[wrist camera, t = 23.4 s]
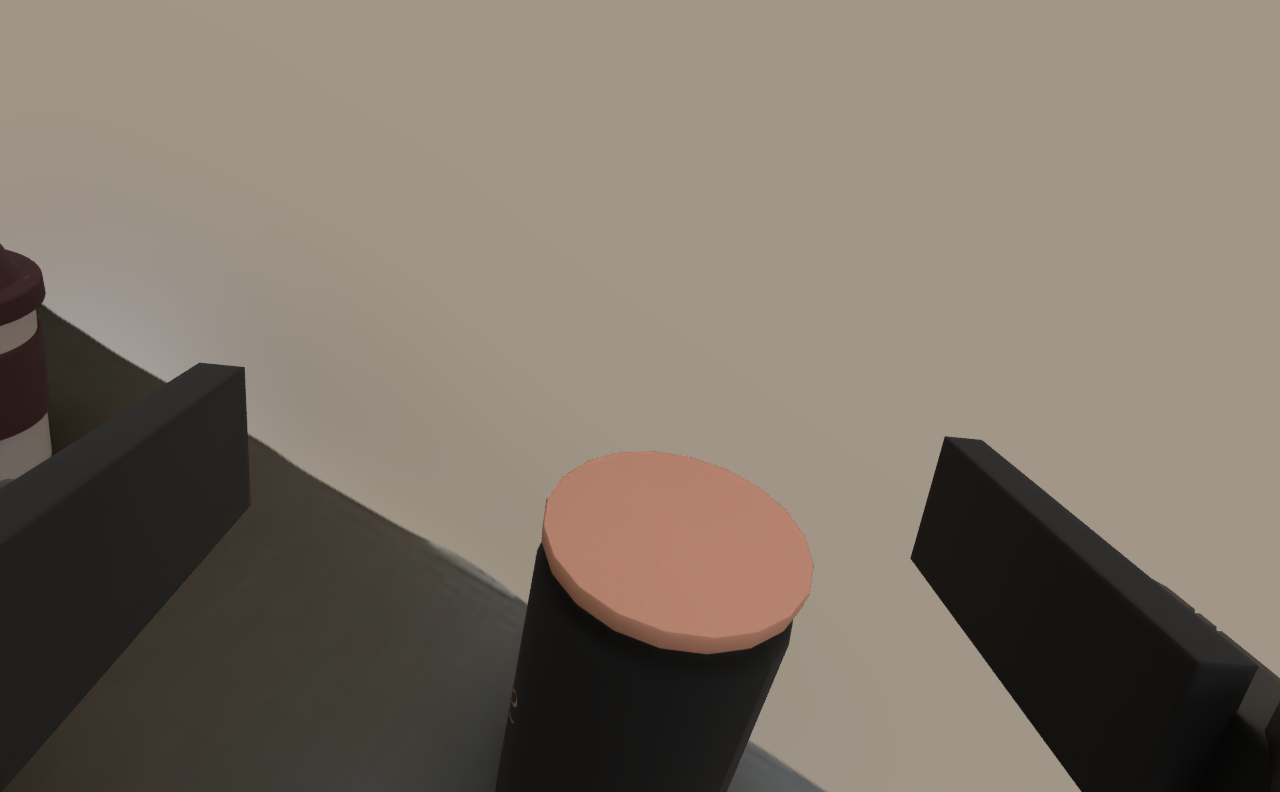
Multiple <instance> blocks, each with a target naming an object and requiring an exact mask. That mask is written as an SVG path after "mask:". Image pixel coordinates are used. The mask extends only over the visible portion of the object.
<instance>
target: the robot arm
mask: <svg viewBox="0 0 1280 792" xmlns="http://www.w3.org/2000/svg"><path fill="white" fill-rule="evenodd" d="M250 505H251V503H250V480H249V457H248V434H247V412H246V389H245V367H237V366H226V365H217V364H207V363H198V364H197V365H195V366H193V367H192V368H190V369H189V370H187V371H186V372H184V373H182V374H181V375H179V376H178V377H176V378H174V379H173V380H172V381H170V382H168V383H167V384H165V385H163V386H162V387H160V388H159V389H157V390H155V391H154V392H152V393H151V394H149V395H148V396H146V397H144V398H143V399H141V400H140V401H138V402H137V403H135V404H133V405H132V406H130V407H129V408H127V409H125V410H124V411H122V412H121V413H119V414H118V415H116V416H114V417H113V418H111V419H110V420H108V421H106V422H105V423H103V424H102V425H100V426H99V427H97V428H95V429H94V430H92V431H91V432H89V433H88V434H86V435H84V436H83V437H81V438H80V439H78V440H76V441H75V442H73V443H72V444H70V445H69V446H67V447H65V448H64V449H62V450H61V451H59V452H57V453H56V454H54V455H53V456H51V457H50V458H48V459H46V460H45V461H43V462H42V463H40V464H39V465H37V466H35V467H34V468H32V469H31V470H29V471H27V472H26V473H24V474H23V475H21V476H20V477H18V478H16V479H5V480H2V481H0V792H2V791H3V790H4V789H5V787H6V786H7V785H8V784H9V783H10V782H11V780H12V779H13V778H14V777H15V776H16V775H17V774H18V772H19V771H20V770H21V769H22V768H23V767H24V765H25V764H26V763H27V762H28V761H29V760H30V759H31V757H32V756H33V755H34V754H35V753H36V752H37V751H38V749H39V748H40V747H41V746H42V745H43V744H44V742H45V741H46V740H47V739H48V738H49V737H50V736H51V734H52V733H53V732H54V731H55V730H56V729H57V727H58V726H59V725H60V724H61V723H62V722H63V721H64V719H65V718H66V717H67V716H68V715H69V714H70V712H71V711H72V710H73V709H74V708H75V707H76V706H77V704H78V703H79V702H80V701H81V700H82V699H83V698H84V696H85V695H86V694H87V693H88V692H89V691H90V689H91V688H92V687H93V686H94V685H95V684H96V683H97V681H98V680H99V679H100V678H101V677H102V676H103V674H104V673H105V672H106V671H107V670H108V669H109V668H110V666H111V665H112V664H113V663H114V662H115V661H116V660H117V658H118V657H119V656H120V655H121V654H122V653H123V651H124V650H125V649H126V648H127V647H128V646H129V645H130V643H131V642H132V641H133V640H134V639H135V638H136V636H137V635H138V634H139V633H140V632H141V631H142V630H143V628H144V627H145V626H146V625H147V624H148V623H149V621H150V620H151V619H152V618H153V617H154V616H155V615H156V613H157V612H158V611H159V610H160V609H161V608H162V607H163V605H164V604H165V603H166V602H167V601H168V600H169V598H170V597H171V596H172V595H173V594H174V593H175V592H176V590H177V589H178V588H179V587H180V586H181V585H182V583H183V582H184V581H185V580H186V579H187V578H188V577H189V575H190V574H191V573H192V572H193V571H194V570H195V569H196V567H197V566H198V565H199V564H200V563H201V562H202V560H203V559H204V558H205V557H206V556H207V555H208V554H209V552H210V551H211V550H212V549H213V548H214V547H215V545H216V544H217V543H218V542H219V541H220V540H221V539H222V537H223V536H224V535H225V534H226V533H227V532H228V530H229V529H230V528H231V527H232V526H233V525H234V524H235V522H236V521H237V520H238V519H239V518H240V517H241V516H242V514H243V513H244V512H245V511H246V510H247V509H248V507H249V506H250ZM911 560H912V561H913V562H914V564H915V565H916V567H917V568H918V569H919V571H920V572H921V574H922V575H923V576H924V577H925V579H926V580H927V582H928V583H929V584H930V586H931V587H932V588H933V590H934V591H935V593H936V594H937V595H938V597H939V598H940V599H941V601H942V602H943V603H944V605H945V606H946V607H947V609H948V610H949V611H950V613H951V614H952V616H953V617H954V618H955V620H956V621H957V623H958V624H959V625H960V627H961V628H962V629H963V631H964V632H965V633H966V635H967V636H968V637H969V639H970V640H971V641H972V643H973V644H974V646H975V647H976V648H977V650H978V651H979V653H980V654H981V655H982V657H983V658H984V659H985V661H986V662H987V663H988V665H989V666H990V668H991V669H992V670H993V672H994V673H995V674H996V676H997V677H998V678H999V680H1000V681H1001V683H1002V684H1003V685H1004V687H1005V688H1006V689H1007V691H1008V692H1009V693H1010V695H1011V696H1012V698H1013V699H1014V700H1015V702H1016V703H1017V704H1018V706H1019V707H1020V708H1021V710H1022V711H1023V712H1024V714H1025V715H1026V717H1027V718H1028V719H1029V721H1030V722H1031V723H1032V725H1033V726H1034V727H1035V729H1036V730H1037V731H1038V733H1039V734H1040V736H1041V737H1042V738H1043V740H1044V741H1045V742H1046V744H1047V745H1048V747H1049V748H1050V749H1051V751H1052V752H1053V753H1054V755H1055V756H1056V758H1057V759H1058V760H1059V762H1060V763H1061V764H1062V766H1063V767H1064V768H1065V770H1066V771H1067V773H1068V774H1069V775H1070V777H1071V778H1072V779H1073V781H1074V782H1075V783H1076V785H1077V786H1078V787H1079V789H1080V790H1081V792H1280V678H1279V677H1277V676H1276V675H1275V674H1274V673H1272V672H1271V671H1270V670H1269V669H1268V668H1267V667H1265V666H1264V665H1263V664H1261V663H1260V662H1259V661H1258V660H1257V659H1255V658H1254V657H1253V656H1252V655H1250V654H1249V653H1248V652H1247V651H1246V650H1244V649H1243V648H1242V647H1241V646H1239V645H1238V644H1237V643H1235V642H1234V641H1233V640H1232V639H1231V638H1229V637H1228V636H1227V635H1226V634H1224V633H1223V632H1220V631H1217V630H1216V626H1215V625H1213V624H1212V623H1211V622H1210V621H1208V620H1207V619H1206V618H1204V617H1203V616H1202V615H1201V614H1198V613H1195V611H1194V610H1195V609H1194V608H1192V607H1191V606H1190V605H1189V604H1187V603H1186V602H1185V601H1184V600H1182V599H1181V598H1180V597H1179V596H1178V595H1176V594H1175V593H1174V592H1173V591H1171V590H1170V589H1169V588H1167V587H1166V586H1164V585H1162V584H1160V583H1159V582H1157V581H1155V580H1153V579H1151V578H1150V577H1149V576H1148V575H1146V574H1145V573H1144V572H1143V571H1142V570H1140V569H1139V568H1138V567H1137V566H1135V565H1134V564H1133V563H1132V562H1131V561H1129V560H1128V559H1127V558H1126V557H1124V556H1123V555H1122V554H1121V553H1120V552H1118V551H1117V550H1116V549H1115V548H1113V547H1112V546H1111V545H1110V544H1108V543H1107V542H1106V541H1105V540H1103V539H1102V538H1101V537H1100V536H1099V535H1097V534H1096V533H1095V532H1094V531H1093V530H1091V529H1090V528H1089V527H1088V526H1087V525H1085V524H1084V523H1083V522H1082V521H1080V520H1079V519H1078V518H1077V517H1075V516H1074V515H1073V514H1072V513H1070V512H1069V511H1068V510H1067V509H1066V508H1064V507H1063V506H1062V505H1061V504H1059V503H1058V502H1057V501H1056V500H1055V499H1053V498H1052V497H1051V496H1050V495H1049V494H1047V493H1046V492H1045V491H1044V490H1042V489H1041V488H1040V487H1039V486H1038V485H1036V484H1035V483H1034V482H1033V481H1031V480H1030V479H1029V478H1028V477H1027V476H1025V475H1024V474H1023V473H1022V472H1020V471H1019V470H1018V469H1017V468H1016V467H1014V466H1013V465H1012V464H1010V463H1009V462H1008V461H1007V460H1006V459H1004V458H1003V457H1002V456H1001V455H1000V454H998V453H997V452H996V451H995V450H993V449H992V448H991V447H990V446H988V445H987V444H986V443H985V442H984V441H982V440H975V439H966V438H956V437H946V436H945V438H944V442H943V445H942V449H941V452H940V456H939V460H938V463H937V466H936V470H935V473H934V477H933V481H932V484H931V488H930V491H929V495H928V498H927V502H926V505H925V509H924V512H923V516H922V519H921V523H920V527H919V530H918V534H917V537H916V541H915V544H914V548H913V551H912V555H911Z"/></svg>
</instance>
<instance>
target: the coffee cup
mask: <svg viewBox="0 0 1280 792" xmlns="http://www.w3.org/2000/svg"><path fill="white" fill-rule="evenodd" d="M45 293H46V292H45V287H44V282H43V276H42V272H41V269H40V268H39V266H38V265H37V264H36V263H35V262H34V261H32V260H30V259H29V258H27V257H25V256H23V255H21V254H18V253H15V252H12V251H9V250H6V249H4V248H3V246H2V245H1V244H0V481H2V480H5V479H16V478H18V477H20V476H21V475H23V474H24V473H26V472H27V471H29V470H31V469H32V468H34V467H35V466H37V465H39V464H40V463H42V462H43V461H45V460H46V459H48V458H50V457H51V453H52V449H51V440H50V431H49V422H48V414H47V412H48V409H49V407H50V394H49V385H48V376H47V367H46V358H45V348H44V339H43V330H42V325H41V323H40V320H39V319H38V318H37V317H36V308H37V307H38V306H40V305H41V303H42V302H43V300H44V298H45Z"/></svg>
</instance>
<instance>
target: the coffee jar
mask: <svg viewBox="0 0 1280 792" xmlns="http://www.w3.org/2000/svg"><path fill="white" fill-rule="evenodd" d="M813 567H814V564H813V561H812V557H811V554H810V551H809V548H808V545H807V541H806V538H805V535H804V534H803V533H802V531H801V530H800V528H799V527H798V526H797V524H796V523H795V521H794V520H793V519H792V517H791V516H790V515H789V513H788V512H787V510H786V509H785V508H783V507H782V506H781V505H780V504H779V503H777V502H776V501H775V500H774V499H773V498H772V497H770V496H769V495H768V494H767V493H765V492H764V491H763V490H762V489H761V488H760V487H758V486H756V485H755V484H753V483H751V482H749V481H747V480H746V479H744V478H742V477H740V476H738V475H736V474H734V473H732V472H731V471H729V470H727V469H725V468H722V467H719V466H716V465H713V464H710V463H707V462H704V461H701V460H698V459H696V458H692V457H688V456H682V455H675V454H668V453H662V452H656V451H650V452H649V451H647V452H620V453H616V454H612V455H608V456H604V457H600V458H596V459H592V460H589V461H587V462H585V463H584V464H582V465H581V466H579V467H577V468H575V469H574V470H572V471H571V472H569V473H567V474H566V475H564V476H563V477H562V479H561V480H560V482H559V483H558V485H557V486H556V487H555V489H554V490H553V491H552V493H551V494H550V495H549V497H548V498H547V500H546V507H545V514H544V521H543V528H542V542H541V544H540V546H539V548H538V550H537V555H536V560H535V567H534V572H533V577H532V583H531V589H530V595H529V600H528V606H527V612H526V617H525V623H524V629H523V635H522V640H521V646H520V652H519V657H518V663H517V669H516V674H515V680H514V686H513V692H512V697H511V703H510V709H509V714H508V720H507V726H506V731H505V737H504V743H503V749H502V754H501V760H500V766H499V773H498V779H497V785H496V792H727V790H728V787H729V785H730V783H731V780H732V778H733V775H734V773H735V771H736V768H737V766H738V764H739V761H740V759H741V757H742V754H743V752H744V749H745V747H746V745H747V742H748V740H749V738H750V735H751V733H752V730H753V728H754V725H755V723H756V721H757V719H758V716H759V714H760V711H761V709H762V707H763V704H764V702H765V700H766V697H767V695H768V693H769V690H770V688H771V685H772V683H773V681H774V678H775V676H776V674H777V671H778V669H779V666H780V664H781V662H782V659H783V657H784V655H785V652H786V650H787V647H788V645H789V640H790V634H791V629H792V623H793V618H794V617H795V616H796V615H797V613H798V612H799V611H800V609H801V608H802V607H803V605H804V603H805V601H806V599H807V598H808V596H809V592H810V587H811V580H812V573H813Z"/></svg>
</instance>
